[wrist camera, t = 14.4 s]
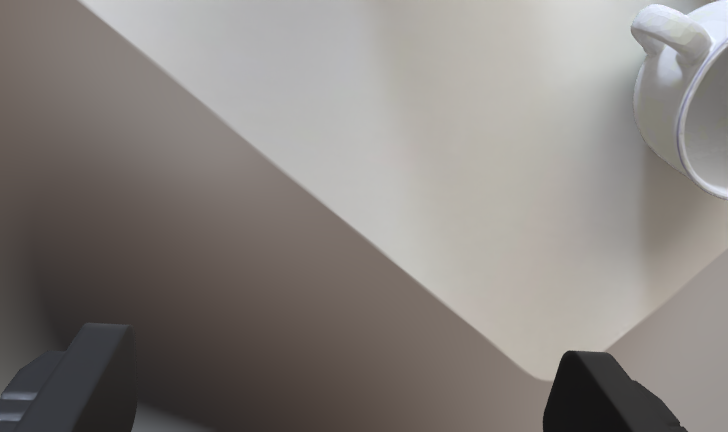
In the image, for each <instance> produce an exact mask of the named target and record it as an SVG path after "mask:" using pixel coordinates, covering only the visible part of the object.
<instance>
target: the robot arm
mask: <svg viewBox="0 0 728 432" xmlns="http://www.w3.org/2000/svg"><path fill="white" fill-rule="evenodd" d="M136 408H137V370H136V343H135V331H134V327H133V326H132V325H120V324H103V323H85V324H84V325H83V326H82V328H81V329H80V331H79V332H78V334H77V335H76V336H75V338H74V340H73V341H72V342H71V344H70V346H69V347H68V349H67V350H66V351H47V352H45V353H44V354H42V355H41V356H40V357H38V358H36V359H35V360H33V361H32V362H30V363H29V364H28V365H26V366H25V367H23V368H22V369H20V370H19V371H18V373H17V374H16V375H15V377H14V378H13V379H12V381H11V382H10V383H9V385H8V386H7V387H6V389H5V390H4V391H3V392H2V394H1V398H0V432H131V430H132V427H133V423H134V418H135V414H136ZM543 432H688V431H687V430H686V429H685V428H684V427H681V426H680V422H679V420H678V419H677V418H676V417H675V416H674V414H673V413H672V412H671V411H670V410H669V409H668V407H667V406H666V405H665V404H664V403H663V401H662V400H661V399H659V398H658V397H657V396H655V395H654V394H653V393H651V392H650V391H649V390H647V389H646V388H645V387H644V386H642V385H641V384H639V383H638V382H637V381H634V380H631V379H630V377H629V376H628V375H627V373H626V372H625V371H624V370H623V368H622V367H621V366H620V365H619V363H618V362H617V361H616V360H615V359H614V358H613V356H612V355H610V354H609V353H605V352H587V351H567V352H566V353H565V354H564V355H563V356H562V358H561V361H560V364H559V367H558V370H557V373H556V377H555V380H554V383H553V386H552V389H551V392H550V395H549V398H548V402H547V405H546V408H545V411H544V416H543Z"/></svg>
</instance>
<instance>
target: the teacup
mask: <svg viewBox="0 0 728 432" xmlns="http://www.w3.org/2000/svg"><path fill="white" fill-rule="evenodd" d="M631 33H632V35H633V37H634V38H635V39H636V40H637V42H638V43H639V44H640V45H641V46H642V47H643V49H644V51H645V52H646V53H647V54H648V55H647V56H646V58H645V60H644V62H643V64H642V66H641V68H640V71H639V73H638V76H637V80H636V84H635V88H634V95H633V110H634V117H635V121H636V124H637V127H638V129H639V132H640V134H641V136H642V137H643V139H644V140H645V142H646V143H647V145H648V146H649V147H650V148H651V149H652V150H653V151H654V152H655V153H656V154H657V155H658V156H659V157H660V158H662V159H663V160H664V161H665V162H667V163H668V164H669V165H671V166H672V167H673V168H675V169H676V170H678V171H679V172H681V173H682V174H684V175H685V176H687V177H688V178H690V179H691V180H692V181H693V182H694V183H695V184H696V185H697V186H699V187H700V188H701V189H702V190H704V191H705V192H707V193H709V194H711V195H713V196H716V197H718V198H721V199H725V200H728V0H719V1H715V2H712V3H709V4H707V5H704V6H702V7H700V8H698V9H696V10H694V11H692V12H690V13H689V14H687V15H685V14H683V13H681V12H679V11H677V10H675V9H672V8H670V7H667V6H663V5H659V4H652V5H648V6H646V7H645V8H643V9H642V10H641V11H640V12H639V13H638V15H637V16H636V18H635V19H634V21H633V23H632V25H631Z"/></svg>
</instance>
